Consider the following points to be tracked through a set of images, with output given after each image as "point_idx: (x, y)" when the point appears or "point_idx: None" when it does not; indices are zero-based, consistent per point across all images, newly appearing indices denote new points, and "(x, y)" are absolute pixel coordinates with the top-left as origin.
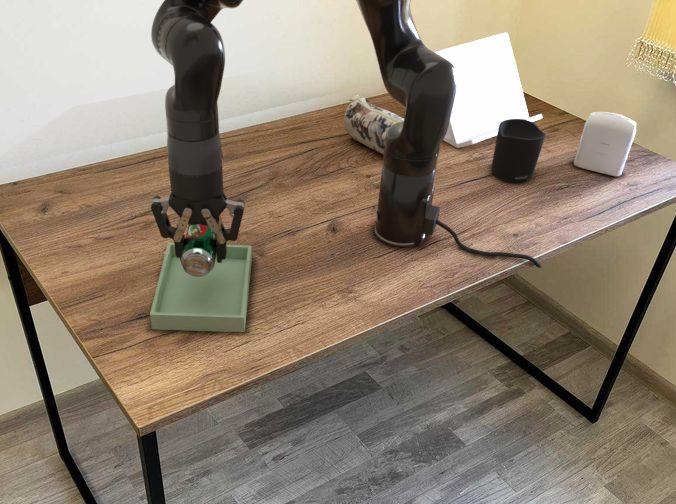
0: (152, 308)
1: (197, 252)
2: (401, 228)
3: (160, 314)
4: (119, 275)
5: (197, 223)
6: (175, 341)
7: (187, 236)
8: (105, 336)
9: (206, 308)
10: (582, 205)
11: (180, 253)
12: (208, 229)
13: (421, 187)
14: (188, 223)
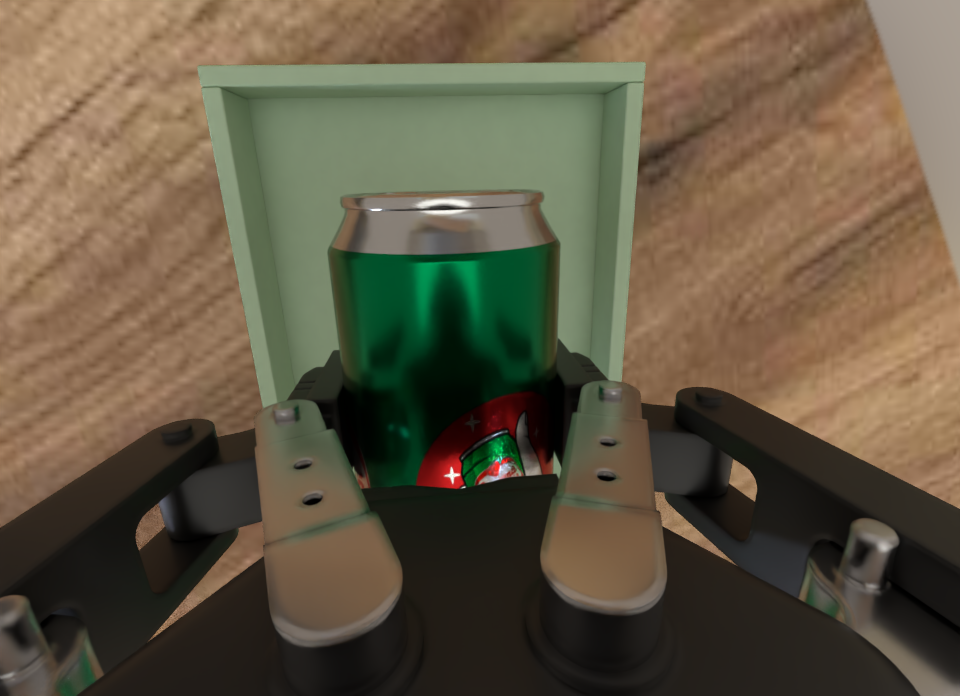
0: (637, 109)
1: (436, 219)
2: None
3: (598, 65)
4: (742, 386)
5: (470, 490)
6: (512, 2)
7: (543, 439)
8: (783, 22)
9: None
10: None
11: (564, 353)
12: None
13: None
14: (556, 481)
